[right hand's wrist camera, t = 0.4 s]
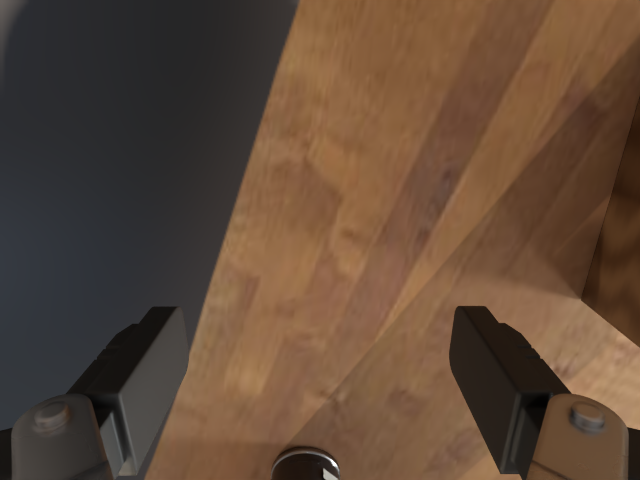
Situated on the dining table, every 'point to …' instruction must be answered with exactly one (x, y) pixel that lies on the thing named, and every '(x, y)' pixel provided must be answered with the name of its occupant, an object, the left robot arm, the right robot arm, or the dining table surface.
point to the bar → (620, 248)
